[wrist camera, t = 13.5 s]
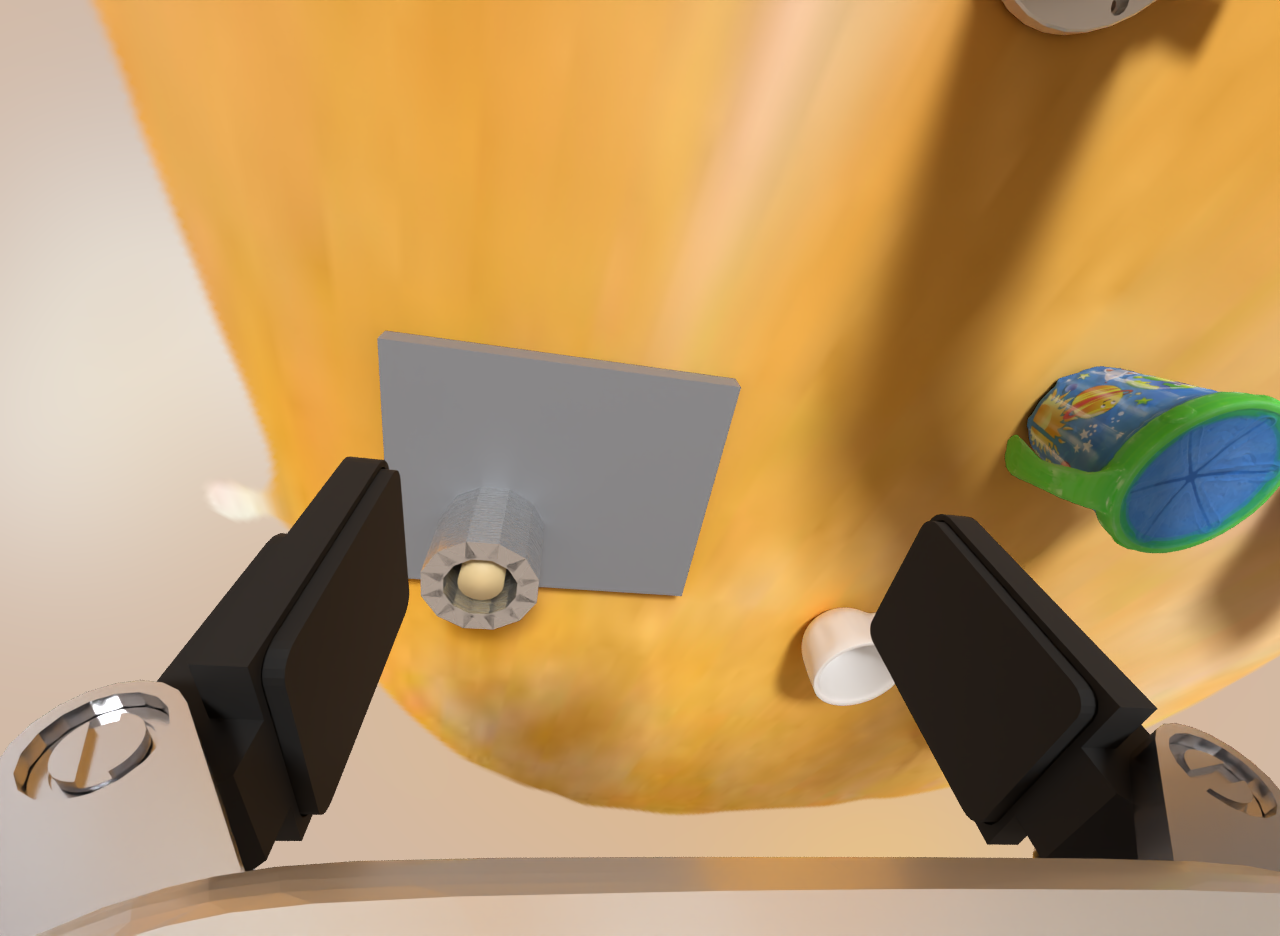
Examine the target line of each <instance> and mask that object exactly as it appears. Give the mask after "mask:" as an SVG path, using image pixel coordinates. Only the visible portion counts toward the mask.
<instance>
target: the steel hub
mask: <svg viewBox="0 0 1280 936" xmlns="http://www.w3.org/2000/svg"><path fill="white" fill-rule="evenodd" d="M543 530H544V522H543V520H542V519H541V517H540V515H539V513H538V512H537V510H536V508H535V506H534V505H533V503H532V502H530V501H528V500H527V499H525V498H523V497H522V496H520V495H518V494H516V493H515V492H513V491H511V490H510V489H500V488H489V487H479V488H477V489H474V490H471V491H468V492H466V493H463V494H460V495H458V496H456V497H455V498H454V499H453V501H452V502H451V503H450V504H449V506H448V507H447V508H446V509H445V511H444V512H443V513H442V515H441V517H440V520H439V523H438V526H437V528H436V531H435V534H434V537H433V539H432V542H431V545H430V547H429V550H428V553H427V556H426V558H425V561H424V564H423V567H422V569H421V596H422V598H423V599H424V600H425V601H426V603H427V604H428V605H429V606H430V608H431V609H432V610H433V611H434V613H435V614H436V615H437V616H438V617H440V618H443V619H445V620H447V621H449V622H451V623H454V624H456V625H458V626H460V627H462V628H474V629H496V628H499V627H502V626H505V625H508V624H511V623H514V622H516V621H519V620H521V619H522V617H523V616H524V615H525V614H526V613H527V612H528V611H529V610H530V609H531V608H532V607H533V606H534V605H535V604H536V603H537V595H538V586H539V577H540V566H541V554H542V542H543ZM471 559H472V560H486V561H493V562H495V563H497V564H499V565H501V566H503V567H504V568H506V574H505V580H504V586H503V589H502V591H501V592H500V593H499V594H498V595H497V596H496V597H494V598H491V599H487V600H477V599H472V598H470V597H468V596H466V595H465V594H463V593H462V592H461V590H460V589H459V587H458V577H459V573H460V570H461V566H462V563H463V562H466V561H469V560H471Z"/></svg>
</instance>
